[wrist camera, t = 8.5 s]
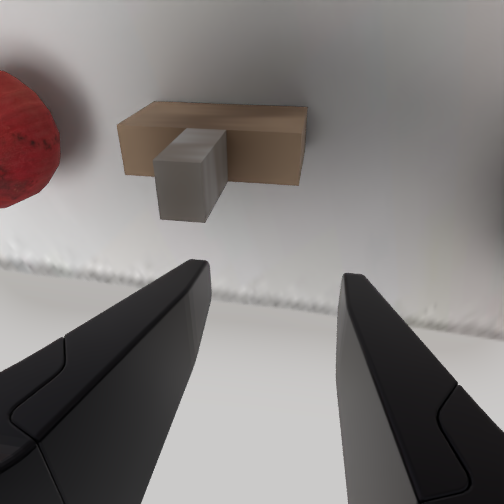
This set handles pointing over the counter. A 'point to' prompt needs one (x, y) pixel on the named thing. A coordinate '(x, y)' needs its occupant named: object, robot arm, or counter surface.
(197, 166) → the door
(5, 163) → the onion
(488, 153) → the counter surface
